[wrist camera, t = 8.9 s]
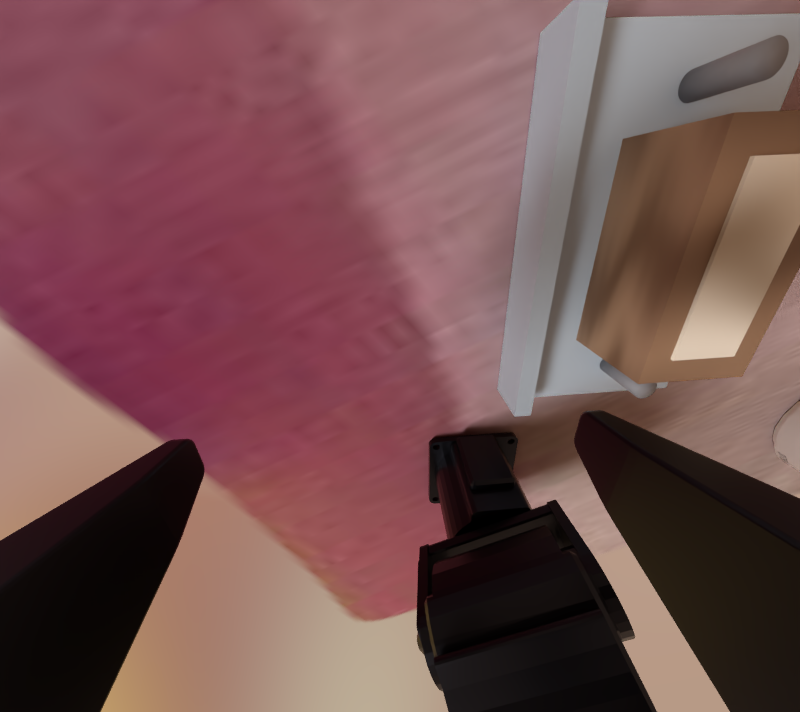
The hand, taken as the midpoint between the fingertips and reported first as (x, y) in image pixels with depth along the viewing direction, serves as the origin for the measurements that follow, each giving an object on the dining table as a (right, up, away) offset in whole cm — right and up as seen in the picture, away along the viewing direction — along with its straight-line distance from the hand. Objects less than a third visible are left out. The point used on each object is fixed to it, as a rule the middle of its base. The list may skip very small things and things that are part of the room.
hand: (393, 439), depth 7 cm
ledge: (+12, +8, +10) cm, 18 cm away
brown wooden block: (+13, +7, +9) cm, 18 cm away
